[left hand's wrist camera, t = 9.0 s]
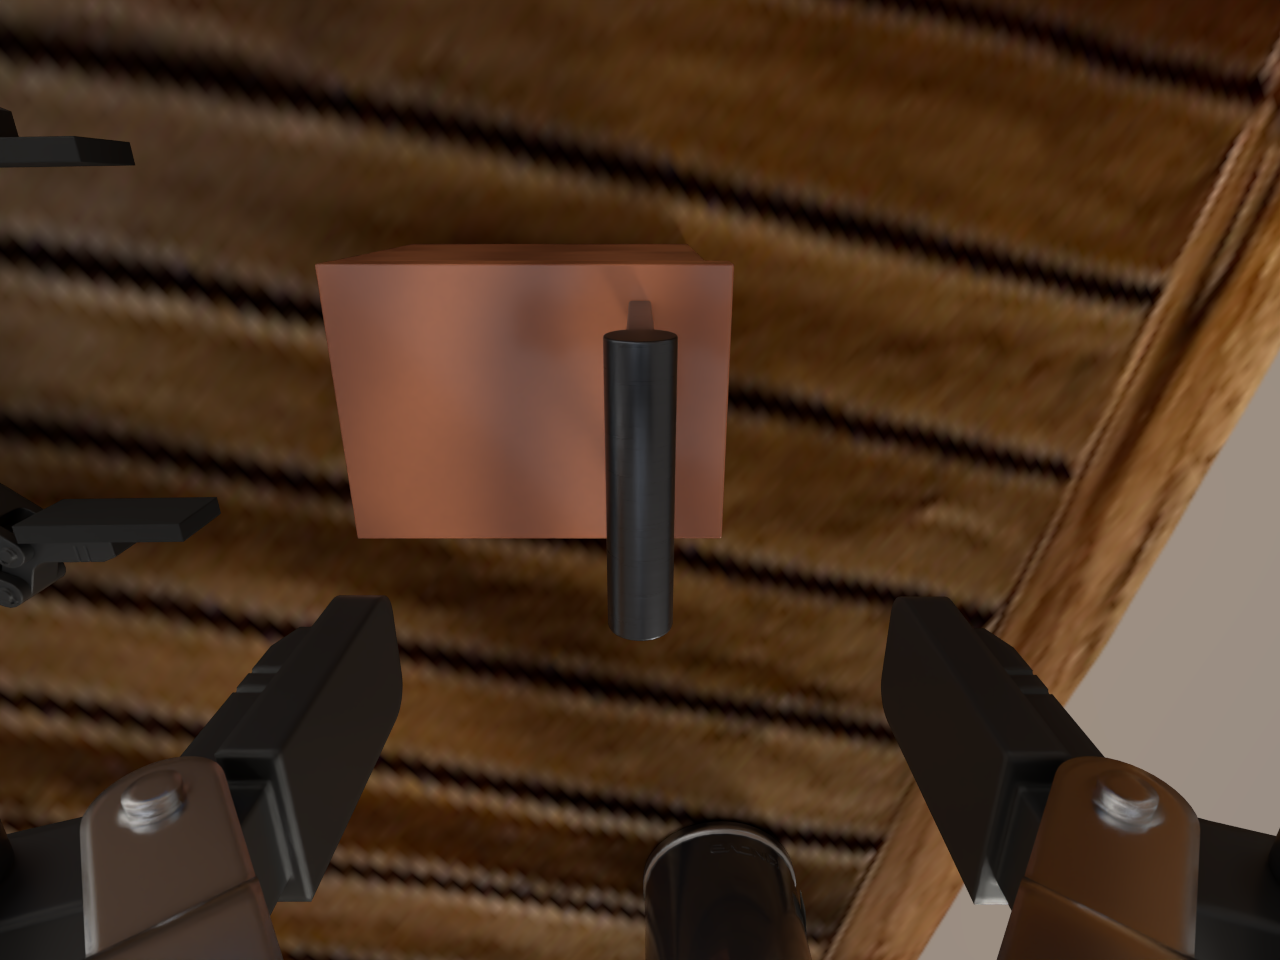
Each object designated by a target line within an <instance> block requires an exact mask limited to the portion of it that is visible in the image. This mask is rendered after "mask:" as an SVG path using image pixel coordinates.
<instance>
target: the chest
mask: <svg viewBox="0 0 1280 960" xmlns="http://www.w3.org/2000/svg"><path fill="white" fill-rule="evenodd" d="M335 261H704V260H703V259H702V258H701V257H700V256H699V255H698V254H697V253H696V252H695V251H694V250H693V249H692V248H691V247H690V246H689V245H688V244H411V245H407V246H402V247H397V248H392V249H387V250H383V251H378V252H373V253H368V254H363V255H358V256H353V257H349V258H344V259H339V260H335Z"/></svg>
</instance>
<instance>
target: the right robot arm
mask: <svg viewBox="0 0 1280 960" xmlns="http://www.w3.org/2000/svg"><path fill="white" fill-rule="evenodd" d="M126 165H135V162H134V158H133V154H132V150H131V146H130V142H123V141H113V140H104V139H95V138H86V137H77V136H54V137H19V136H18V133H17V129H16V126H15V123H14V119H13V116H12V112H11V111H8V110H6V109H3V108H1V107H0V167H61V166H126ZM219 514H221V513H220V509H219V504H218V500H217V497H195V498H120V499H63V500H61V501H59V502H57V503H55V504H53V505H51V506H49V507H48V508H46V509H42V508H41V507H39V506H37V505H36V504H34V503H32V502H31V501H29V500H27V499H26V498H24V497H22V496H21V495H19V494H17V493H16V492H14V491H13V490H11V489H9V488H8V487H6V486H4V485H3V484H1V483H0V605H2V606H5V607H10V608H12V607H17V606H18V605H20V604H22V603H23V602H25V601H26V600H28V599H29V598H31V597H32V596H34V595H35V594H37V593H39V592H40V591H42V590H43V589H45V588H46V587H48V586H49V585H51V584H52V583H54V582H55V581H57V580H58V579H60V578H61V577H63V576H64V574H65V573H66V567H65V565H64V563H63V562H80V561H81V562H89V561H91V562H104V561H107V560H109V559H112V558H114V557H116V556H117V555H119V554H120V553H122V552H123V551H125V550H126V549H128V548H129V547H131V546H132V545H133V544H135V543H136V542H184V541H185V540H186V539H187V538H189V537H190V536H191V535H193V534H194V533H195V532H197V531H198V530H199V529H201V528H202V527H203V526H205V525H206V524H207V523H209V522H210V521H211V520H213V519H214V518H215V517H217V516H218V515H219Z"/></svg>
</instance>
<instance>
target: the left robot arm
mask: <svg viewBox="0 0 1280 960" xmlns="http://www.w3.org/2000/svg"><path fill="white" fill-rule="evenodd" d="M1032 671H1033V670H1032V669H1031V668H1030V667H1029V666H1028V664H1027V663H1026V662H1025V661H1024V660H1023V658H1022V657H1021V656H1020V655H1019V654H1018V652H1017V651H1016V650H1015V649H1014V648H1013V647H1012V646H1010V645H1009V644H1007V643H1006V642H1004V641H1003V640H1001V639H1000V638H998V637H997V636H995V635H994V634H992V633H991V632H989V631H987V630H986V629H984V628H972V627H971V625H970V624H969V623H968V621H967V620H966V619H965V618H964V616H963V615H962V614H961V612H960V611H959V610H958V608H957V607H956V606H955V605H954V603H953V602H952V601H951V600H950V599H949V598H948V597H898V598H896V600H895V601H894V603H893V606H892V610H891V617H890V623H889V630H888V637H887V644H886V651H885V658H884V664H883V671H882V679H881V695H882V703H883V708H884V713H885V716H886V719H887V721H888V723H889V725H890V727H891V730H892V732H893V734H894V736H895V738H896V740H897V742H898V744H899V746H900V749H901V751H902V753H903V755H904V757H905V759H906V761H907V763H908V765H909V768H910V770H911V772H912V774H913V776H914V778H915V780H916V782H917V785H918V787H919V789H920V791H921V793H922V795H923V797H924V799H925V801H926V804H927V806H928V808H929V810H930V812H931V814H932V816H933V818H934V820H935V823H936V825H937V827H938V829H939V831H940V833H941V835H942V837H943V840H944V842H945V844H946V846H947V848H948V850H949V852H950V854H951V856H952V859H953V861H954V863H955V865H956V867H957V869H958V871H959V873H960V875H961V878H962V880H963V882H964V884H965V886H966V888H967V890H968V892H969V894H970V897H971V899H972V901H973V903H974V904H1008V905H1009V907H1010V908H1011V910H1012V912H1011V915H1010V918H1009V922H1008V925H1007V928H1006V931H1005V935H1004V938H1003V941H1002V944H1001V948H1000V951H999V954H998V957H997V960H1280V829H1279V831H1278V834H1277V836H1273V835H1269V834H1265V833H1260V832H1256V831H1251V830H1247V829H1243V828H1238V827H1234V826H1229V825H1225V824H1221V823H1217V822H1212V821H1208V820H1205V819H1201V818H1197V815H1196V814H1195V812H1194V810H1193V809H1192V807H1191V806H1190V805H1189V803H1188V802H1187V801H1186V800H1185V799H1184V798H1183V797H1182V796H1181V795H1180V794H1179V793H1178V792H1177V791H1176V790H1174V789H1173V788H1172V787H1171V786H1169V785H1168V784H1167V783H1165V782H1164V781H1162V780H1160V779H1159V778H1157V777H1156V776H1154V775H1152V774H1150V773H1148V772H1146V771H1144V770H1142V769H1140V768H1138V767H1135V766H1133V765H1130V764H1127V763H1124V762H1121V761H1118V760H1114V759H1110V758H1105V757H1104V756H1103V755H1102V754H1101V752H1100V751H1099V750H1098V749H1097V748H1096V746H1095V745H1094V744H1093V743H1092V741H1091V740H1090V739H1089V738H1088V737H1087V735H1086V734H1085V733H1084V732H1083V731H1082V729H1081V728H1080V727H1079V726H1078V725H1077V723H1076V722H1075V721H1074V720H1073V719H1072V717H1071V716H1070V715H1069V714H1068V713H1067V711H1066V710H1065V709H1064V708H1063V707H1062V705H1061V704H1060V703H1059V702H1058V701H1057V699H1056V698H1055V697H1054V696H1053V695H1052V694H1049V693H1048V688H1047V687H1046V686H1045V685H1044V684H1043V682H1042V681H1041V680H1040V679H1039V678H1038V676H1037V675H1033V673H1032ZM401 699H402V673H401V666H400V659H399V652H398V645H397V638H396V631H395V624H394V617H393V610H392V606H391V602H390V600H389V599H388V597H387V596H384V595H339V596H336V597H335V598H334V599H333V600H332V601H331V602H330V604H329V605H328V606H327V608H326V609H325V610H324V611H323V613H322V614H321V615H320V617H319V618H318V619H317V621H316V622H315V623H314V625H313V626H312V627H299V628H298V629H296V630H295V631H293V632H292V633H290V634H289V635H287V636H286V637H284V638H283V639H281V640H280V641H278V642H277V643H275V644H274V645H272V646H271V647H270V648H269V649H268V650H267V652H266V653H265V654H264V655H263V656H262V658H261V659H260V660H259V661H258V663H257V664H256V665H255V666H254V667H253V669H252V673H248V675H247V676H246V677H245V678H244V680H243V681H242V682H241V683H240V684H239V686H238V687H237V692H236V693H232V694H231V695H230V697H229V698H228V699H227V700H226V701H225V703H224V704H223V705H222V706H221V708H220V709H219V710H218V711H217V712H216V714H215V715H214V716H213V717H212V718H211V720H210V721H209V722H208V723H207V725H206V726H205V727H204V728H203V729H202V731H201V732H200V733H199V734H198V735H197V737H196V738H195V739H194V740H193V742H192V743H191V744H190V745H189V746H188V748H187V749H186V750H185V751H184V752H183V754H182V755H181V756H180V757H176V758H170V759H166V760H162V761H159V762H156V763H153V764H149V765H147V766H145V767H142V768H140V769H138V770H136V771H134V772H132V773H130V774H128V775H126V776H124V777H123V778H121V779H120V780H118V781H116V782H115V783H113V784H112V785H111V786H109V787H108V788H107V789H105V790H104V791H103V792H102V793H101V794H100V795H99V796H98V797H97V798H96V799H95V800H94V801H93V802H92V803H91V805H90V806H89V807H88V809H87V810H86V812H85V814H84V815H83V817H80V818H76V819H71V820H67V821H63V822H58V823H54V824H49V825H45V826H41V827H36V828H32V829H28V830H23V831H19V832H15V833H10V834H6V832H5V829H4V827H3V825H2V822H1V820H0V960H283V957H282V954H281V951H280V948H279V944H278V941H277V938H276V935H275V931H274V928H273V925H272V922H271V918H270V915H271V913H272V911H273V909H274V907H275V905H276V903H277V902H311V901H312V899H313V897H314V894H315V892H316V890H317V888H318V886H319V884H320V882H321V880H322V877H323V875H324V873H325V871H326V869H327V867H328V865H329V862H330V860H331V858H332V856H333V854H334V852H335V850H336V847H337V845H338V843H339V841H340V839H341V837H342V835H343V832H344V830H345V828H346V826H347V824H348V822H349V820H350V817H351V815H352V813H353V811H354V809H355V807H356V805H357V802H358V800H359V798H360V796H361V794H362V792H363V790H364V787H365V785H366V783H367V781H368V779H369V777H370V775H371V772H372V770H373V768H374V766H375V764H376V762H377V760H378V757H379V755H380V753H381V751H382V749H383V747H384V745H385V742H386V740H387V738H388V736H389V734H390V732H391V730H392V727H393V725H394V723H395V721H396V719H397V716H398V713H399V710H400V705H401ZM643 890H644V899H645V960H812V959H811V954H810V950H809V945H808V941H807V937H806V914H805V907H804V903H803V899H802V895H801V891H800V899H801V909H800V905H799V900H798V896H797V891H796V881H795V875H794V871H793V867H792V862H791V860H790V857H789V855H788V853H787V851H786V850H785V849H784V847H783V846H782V845H781V844H780V843H779V842H778V841H777V840H776V839H775V838H774V837H772V836H771V835H769V834H768V833H766V832H764V831H762V830H760V829H758V828H756V827H753V826H750V825H746V824H742V823H737V822H729V821H714V822H705V823H700V824H696V825H692V826H689V827H686V828H684V829H681V830H679V831H677V832H675V833H673V834H672V835H670V836H669V837H667V838H666V839H665V840H663V841H662V842H661V843H660V844H659V845H658V846H657V847H656V848H655V849H654V850H653V852H652V853H651V855H650V856H649V858H648V860H647V863H646V865H645V869H644V876H643Z"/></svg>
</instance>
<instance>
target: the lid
mask: <svg viewBox="0 0 1280 960" xmlns="http://www.w3.org/2000/svg"><path fill="white" fill-rule="evenodd" d="M315 268H316V274H317V281H318V287H319V293H320V300H321V306H322V313H323V319H324V325H325V332H326V338H327V344H328V351H329V357H330V363H331V370H332V376H333V383H334V389H335V395H336V402H337V408H338V414H339V421H340V427H341V434H342V440H343V446H344V453H345V459H346V465H347V472H348V478H349V484H350V491H351V497H352V504H353V510H354V516H355V523H356V529H357V535H358V538H607V586H608V625H609V627H610V629H611V630H612V632H614V633H615V634H616V635H618V636H620V637H622V638H625V639H629V640H636V641H645V640H652V639H656V638H659V637H661V636H663V635H665V634H666V633H667V632H668V631H669V630H670V628H671V627H672V622H673V570H674V538H721V537H722V517H723V495H724V473H725V451H726V429H727V407H728V385H729V363H730V341H731V319H732V297H733V275H734V265H733V264H732V263H731V262H729V261H328V262H323V263H319V264H316V265H315Z"/></svg>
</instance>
